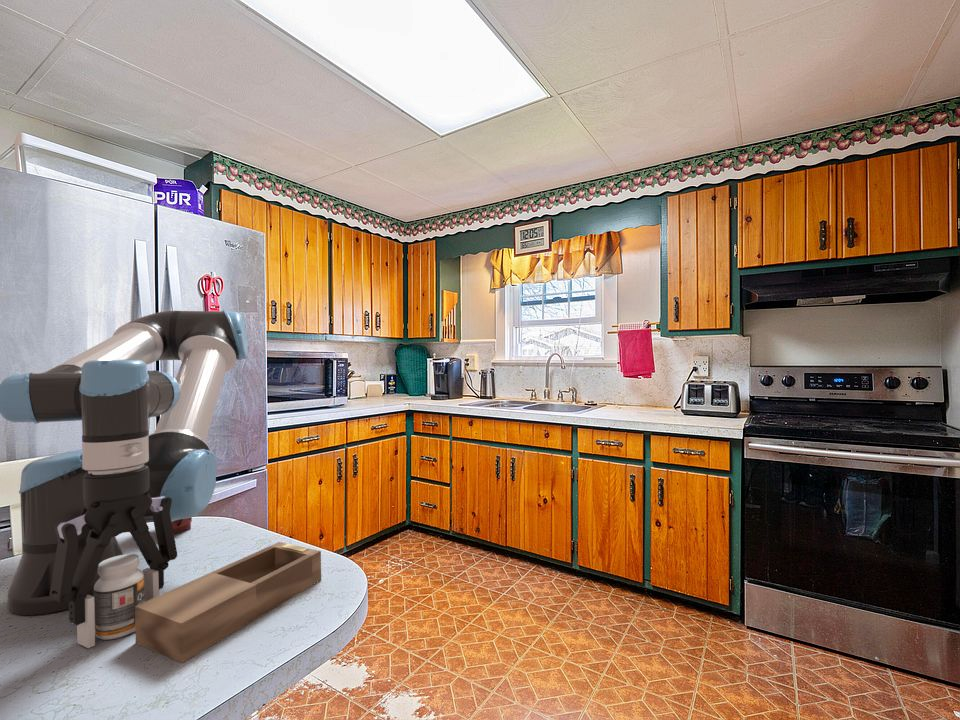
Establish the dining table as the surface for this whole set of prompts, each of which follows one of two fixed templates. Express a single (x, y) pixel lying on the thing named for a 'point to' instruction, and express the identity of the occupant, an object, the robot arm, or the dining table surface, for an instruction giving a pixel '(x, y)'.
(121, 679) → the dining table surface
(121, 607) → the pill bottle
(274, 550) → the brown wooden open box
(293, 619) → the dining table surface
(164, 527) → the robot arm
